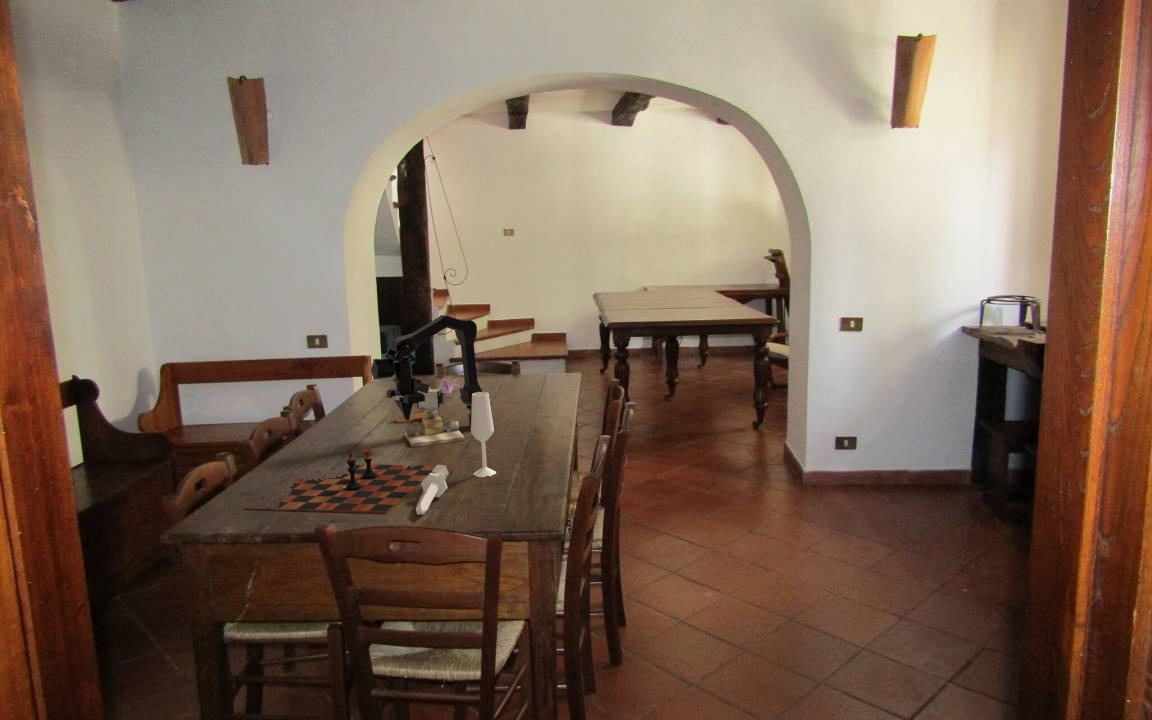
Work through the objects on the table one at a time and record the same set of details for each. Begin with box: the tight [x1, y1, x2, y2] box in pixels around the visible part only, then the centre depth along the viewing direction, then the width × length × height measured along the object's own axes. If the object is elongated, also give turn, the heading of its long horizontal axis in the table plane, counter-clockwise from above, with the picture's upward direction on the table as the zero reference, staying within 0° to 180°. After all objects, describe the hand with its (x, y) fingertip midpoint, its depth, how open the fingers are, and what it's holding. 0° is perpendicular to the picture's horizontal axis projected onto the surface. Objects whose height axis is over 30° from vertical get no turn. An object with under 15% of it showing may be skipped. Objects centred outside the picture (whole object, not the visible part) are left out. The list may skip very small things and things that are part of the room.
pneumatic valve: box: [414, 387, 447, 418], centre depth 296 cm, size 6×12×12 cm, turn 82°
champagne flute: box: [470, 391, 497, 478], centre depth 223 cm, size 7×7×24 cm
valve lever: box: [396, 410, 437, 423], centre depth 266 cm, size 3×14×2 cm, turn 114°
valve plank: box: [404, 415, 466, 448], centre depth 266 cm, size 18×16×7 cm
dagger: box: [415, 464, 449, 516], centre depth 203 cm, size 8×6×28 cm
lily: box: [437, 378, 461, 400], centre depth 328 cm, size 12×12×10 cm
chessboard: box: [249, 448, 437, 515], centre depth 218 cm, size 40×40×11 cm
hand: (407, 419), depth 263 cm, fingers closed
